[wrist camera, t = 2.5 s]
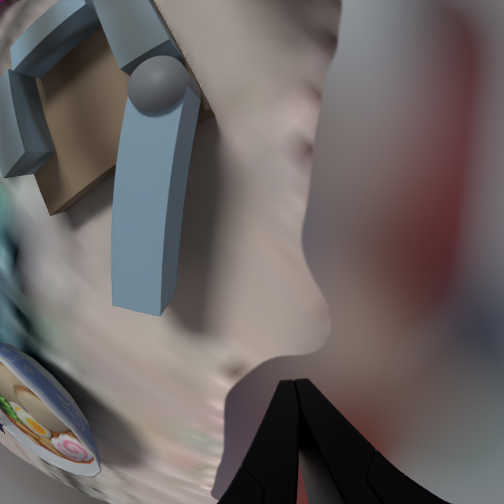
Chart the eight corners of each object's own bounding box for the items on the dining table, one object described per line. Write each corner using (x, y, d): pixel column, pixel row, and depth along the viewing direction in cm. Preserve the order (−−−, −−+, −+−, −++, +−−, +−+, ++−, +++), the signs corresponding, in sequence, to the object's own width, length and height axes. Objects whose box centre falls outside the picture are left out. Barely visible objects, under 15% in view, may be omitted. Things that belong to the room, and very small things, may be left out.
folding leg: (158, 77, 14) (135, 56, 10) (205, 78, 14) (192, 55, 10) (134, 281, 18) (110, 307, 14) (176, 290, 18) (158, 319, 14)
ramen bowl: (112, 459, 30) (97, 496, 22) (3, 387, 27) (-20, 414, 19) (135, 372, 23) (103, 435, 15) (-17, 267, 20) (-62, 293, 12)
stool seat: (147, -10, 13) (123, -43, 8) (214, 114, 16) (198, 93, 11) (24, 85, 15) (-15, 78, 9) (65, 211, 18) (20, 226, 13)
